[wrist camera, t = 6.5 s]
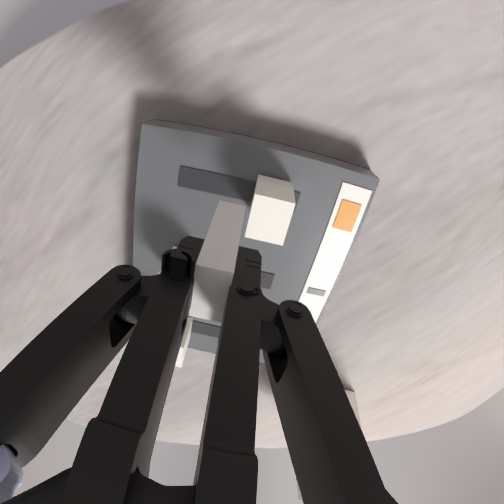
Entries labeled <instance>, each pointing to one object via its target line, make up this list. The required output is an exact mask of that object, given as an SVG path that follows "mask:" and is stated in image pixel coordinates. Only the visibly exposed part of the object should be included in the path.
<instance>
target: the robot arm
mask: <svg viewBox="0 0 504 504" xmlns="http://www.w3.org/2000/svg"><path fill="white" fill-rule="evenodd" d="M245 208H246V206H244V205H239V204H235V203H230V202H225V201H221V200H220V201H219V204H218V206H217V209H216V211H215V214H214V217H213V219H212V222H211V224H210V227H209V230H208V232H207V235H206V238H205V239H201V238H197V237H192V236H186V237H185V238H183V239H181V241H180V243H179V245H178V247H177V249H170V250H167V251H165V252H164V253H163V254H162V265H161V273H160V274H158V275H152V276H141V272H140V271H139V269H137V268H136V267H134V266H131V265H119V266H116V267H114V268H113V269H111V270H110V271H109V272H108V273H106V274H105V275H104V276H103V277H102V278H101V279H99V280H98V281H97V282H96V283H95V284H94V285H92V286H91V287H90V288H89V289H88V290H87V291H86V292H84V293H83V294H82V295H81V296H80V297H79V298H78V299H77V300H75V301H74V302H73V303H72V304H71V305H70V306H69V307H68V308H66V309H65V310H64V311H63V312H62V313H61V314H60V315H59V316H58V317H57V318H56V319H54V320H53V321H52V322H51V323H50V324H49V325H48V326H47V327H46V328H45V329H44V330H43V331H42V332H41V333H40V334H38V335H37V336H36V337H35V338H34V339H33V340H32V341H31V342H30V343H29V344H28V345H27V346H26V347H25V348H24V349H23V350H22V351H21V352H20V353H19V354H18V355H17V356H16V357H15V358H14V359H13V360H12V361H11V362H10V363H9V364H8V365H7V366H6V367H5V368H4V369H3V370H2V371H1V372H0V504H256V493H257V476H258V459H257V456H256V455H255V452H254V447H255V430H256V413H257V395H258V376H259V357H260V349H262V350H263V357H264V361H265V365H266V369H267V372H268V376H269V380H270V384H271V387H272V391H273V395H274V398H275V402H276V406H277V409H278V413H279V417H280V420H281V424H282V428H283V431H284V435H285V439H286V442H287V446H288V449H289V453H290V457H291V460H292V464H293V467H294V471H295V474H296V478H297V482H298V485H299V489H300V492H301V496H302V499H303V503H304V504H398V503H397V502H396V501H395V500H394V498H393V497H392V496H391V495H390V494H389V493H388V492H387V491H386V489H385V487H384V485H383V482H382V480H381V477H380V475H379V472H378V470H377V467H376V465H375V462H374V460H373V457H372V455H371V452H370V450H369V447H368V445H367V442H366V440H365V438H364V435H363V433H362V430H361V428H360V425H359V423H358V421H357V418H356V416H355V413H354V411H353V409H352V406H351V404H350V402H349V399H348V397H347V394H346V392H345V390H344V387H343V385H342V383H341V380H340V378H339V376H338V373H337V371H336V369H335V367H334V364H333V362H332V360H331V357H330V355H329V353H328V350H327V348H326V346H325V344H324V341H323V339H322V337H321V335H320V332H319V330H318V328H317V326H316V323H315V321H314V319H313V317H312V314H311V312H310V310H309V309H308V308H307V306H305V305H304V304H303V303H301V302H298V301H295V300H285V301H283V302H281V303H280V305H279V304H277V303H274V302H272V301H270V300H269V299H267V298H266V297H265V296H264V295H263V293H262V289H261V288H260V284H261V263H262V256H261V254H260V253H259V251H258V250H255V249H251V248H246V247H241V246H239V242H240V236H241V230H242V225H243V219H244V214H245ZM188 314H189V316H193V317H197V318H201V319H206V320H211V321H215V322H220V323H222V325H221V329H220V334H219V338H218V345H217V351H216V356H215V362H214V367H213V373H212V379H211V384H210V390H209V396H208V401H207V407H206V413H205V419H204V424H203V430H202V436H201V442H200V448H199V454H198V461H197V466H196V472H195V478H194V483H193V486H164V485H161V484H159V483H157V482H155V481H153V480H151V479H149V478H148V476H149V468H150V467H149V466H150V461H151V456H152V452H153V448H154V444H155V440H156V436H157V432H158V428H159V424H160V420H161V416H162V412H163V408H164V404H165V401H166V397H167V393H168V389H169V386H170V382H171V378H172V375H173V371H174V367H175V364H176V360H177V357H178V353H179V349H180V346H181V342H182V339H183V335H184V332H185V329H186V325H187V318H188ZM128 340H129V341H128ZM127 341H128V344H127V346H126V348H125V351H124V353H123V355H122V358H121V360H120V362H119V365H118V367H117V370H116V372H115V374H114V377H113V379H112V382H111V384H110V387H109V389H108V392H107V394H106V397H105V399H104V402H103V404H102V407H101V410H100V412H99V414H98V416H97V417H96V418H92V419H91V420H90V421H89V423H88V425H87V427H86V429H85V432H84V435H83V437H82V440H81V443H80V446H79V448H78V451H77V454H76V457H75V460H74V463H73V466H72V467H71V468H69V469H66V470H64V471H62V472H61V473H59V474H57V475H55V476H53V477H51V478H50V479H48V480H46V481H44V482H42V483H40V484H38V485H37V486H35V487H33V488H31V489H29V490H27V491H25V492H23V493H21V494H19V495H17V496H15V497H13V494H14V491H15V490H16V489H17V488H18V487H20V486H21V485H22V484H23V471H22V467H24V466H25V465H27V464H28V463H29V462H30V461H31V460H32V459H33V458H34V457H36V455H37V454H38V453H39V452H40V451H41V450H42V448H43V447H44V446H45V444H46V443H47V442H48V440H49V439H50V438H51V436H52V435H53V434H54V433H55V431H56V430H57V429H58V427H59V426H60V425H61V423H62V422H63V421H64V420H65V418H66V417H67V416H68V415H69V413H70V412H71V411H72V409H73V408H74V407H75V406H76V404H77V403H78V402H79V401H80V399H81V398H82V397H83V396H84V394H85V393H86V392H87V390H88V389H89V388H90V387H91V385H92V384H93V383H94V382H95V381H96V379H97V378H98V377H99V376H100V374H101V373H102V372H103V371H104V369H105V368H106V367H107V366H108V365H109V363H110V362H111V361H112V360H113V358H114V357H115V356H116V355H117V354H118V352H119V351H120V350H121V349H122V347H123V346H124V345H125V344H126V343H127Z"/></svg>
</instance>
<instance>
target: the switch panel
mask: <svg viewBox="0 0 504 504" xmlns="http://www.w3.org/2000/svg"><path fill="white" fill-rule="evenodd" d="M258 174H259V175H263V176H268V177H272V178H276V179H280V180H284V181H288V182H292V183H293V189H294V196H295V203H296V204H295V207H294V211H293V214H292V217H291V221H290V224H289V227H288V230H287V233H286V237H285V240H284V243H283V246H281V245H277V244H273V243H268V242H264V241H260V240H255V239H251V238H247V237H245V232H246V226H247V221H248V216H249V211H250V207H251V203H252V199H253V194H254V190H255V186H256V182H257V178H258ZM378 183H379V179H378V177H377V176H376V175H375V174H374V173H373V172H372V171H371V170H368V169H365V168H362V167H359V166H356V165H353V164H350V163H347V162H343V161H340V160H337V159H333V158H330V157H327V156H323V155H320V154H316V153H313V152H309V151H305V150H302V149H298V148H294V147H290V146H286V145H282V144H278V143H274V142H270V141H266V140H262V139H257V138H253V137H249V136H244V135H239V134H235V133H230V132H225V131H220V130H215V129H209V128H204V127H198V126H193V125H187V124H181V123H174V122H168V121H161V120H151V121H149V122H146V123H144V124H142V127H141V135H140V144H139V154H138V164H137V176H136V190H135V206H134V230H133V266H134V267H136V268H137V269H139V271H140V272H141V276H152V275H158V274H159V272H160V270H161V265H162V254H163V253H164V252H165V251H167V250H170V249H172V248H173V246H175V247H178V245H179V243H180V241H181V239H183V238H185V237H186V236H192V237H197V238H201V239H205V238H206V235H207V232H208V230H209V227H210V224H211V222H212V219H213V217H214V214H215V211H216V209H217V206H218V204H219V201H220V200H221V201H225V202H230V203H235V204H239V205H244V206H246V208H245V214H244V219H243V225H242V230H241V236H240V242H239V246H241V247H246V248H251V249H255V250H258V251H259V253H260V254H261V256H262V263H261V284H260V288H261V289H262V293H263V295H264V296H265V297H266V298H267V299H269V300H270V301H272V302H274V303H277V304H279V305H280V303H281V302H283V301H285V300H295V301H298V302H301V303H303V304H304V305H305V306H307V308H308V309H309V310H310V312H311V314H312V317H313V319H314V321H315V323H316V326H317V324H318V322H319V320H320V318H321V316H322V314H323V312H324V310H325V308H326V306H327V304H328V302H329V299H330V297H331V295H332V293H333V291H334V289H335V287H336V284H337V282H338V280H339V278H340V276H341V273H342V271H343V269H344V267H345V264H346V262H347V260H348V258H349V255H350V253H351V251H352V248H353V246H354V244H355V241H356V239H357V236H358V234H359V232H360V229H361V227H362V224H363V222H364V219H365V217H366V214H367V212H368V209H369V207H370V204H371V202H372V199H373V196H374V194H375V191H376V188H377V186H378ZM188 316H189V314H188ZM189 317H193V316H189ZM221 325H222V323H220V322H215V321H211V320H206V319H201V318H197V317H193V320H192V328H191V336H190V340H189V344H188V348H193V349H197V350H201V351H205V352H210V353H214V354H216V351H217V345H218V338H219V334H220V329H221ZM259 363H264V364H265V361H264V357H263V350H262V349H260V357H259Z"/></svg>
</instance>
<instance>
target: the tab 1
mask: <svg viewBox="0 0 504 504" xmlns="http://www.w3.org/2000/svg"><path fill="white" fill-rule="evenodd" d="M192 320H193V317H189V316H188V318H187V325H186V329H185V332H184V335H183V339H182V342H181V346H180V349H179V353H178V357H177V360H176V364H175V366H177V367H181V368H182V364H183V361H184V357H185V354H186V350H187V347H188V344H189V340H190V336H191V328H192Z"/></svg>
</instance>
